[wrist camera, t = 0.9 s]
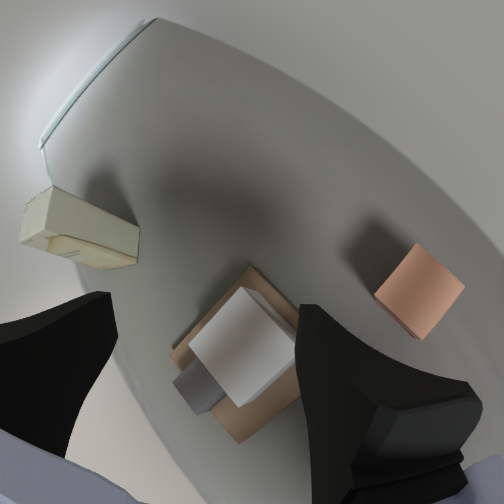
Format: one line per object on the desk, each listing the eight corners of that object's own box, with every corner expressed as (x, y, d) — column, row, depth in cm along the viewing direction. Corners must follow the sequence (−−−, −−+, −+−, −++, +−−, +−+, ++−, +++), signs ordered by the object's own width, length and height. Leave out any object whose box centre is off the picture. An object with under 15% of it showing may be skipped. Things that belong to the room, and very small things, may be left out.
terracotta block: (447, 295, 19) (464, 286, 14) (413, 337, 19) (422, 340, 15) (409, 260, 20) (416, 242, 16) (375, 301, 21) (373, 294, 16)
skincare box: (103, 270, 33) (16, 245, 22) (106, 235, 34) (24, 203, 24) (139, 263, 31) (42, 231, 20) (141, 224, 32) (52, 182, 21)
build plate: (342, 355, 21) (334, 361, 17) (243, 440, 22) (220, 456, 18) (255, 267, 25) (232, 256, 22) (175, 355, 26) (146, 356, 23)
